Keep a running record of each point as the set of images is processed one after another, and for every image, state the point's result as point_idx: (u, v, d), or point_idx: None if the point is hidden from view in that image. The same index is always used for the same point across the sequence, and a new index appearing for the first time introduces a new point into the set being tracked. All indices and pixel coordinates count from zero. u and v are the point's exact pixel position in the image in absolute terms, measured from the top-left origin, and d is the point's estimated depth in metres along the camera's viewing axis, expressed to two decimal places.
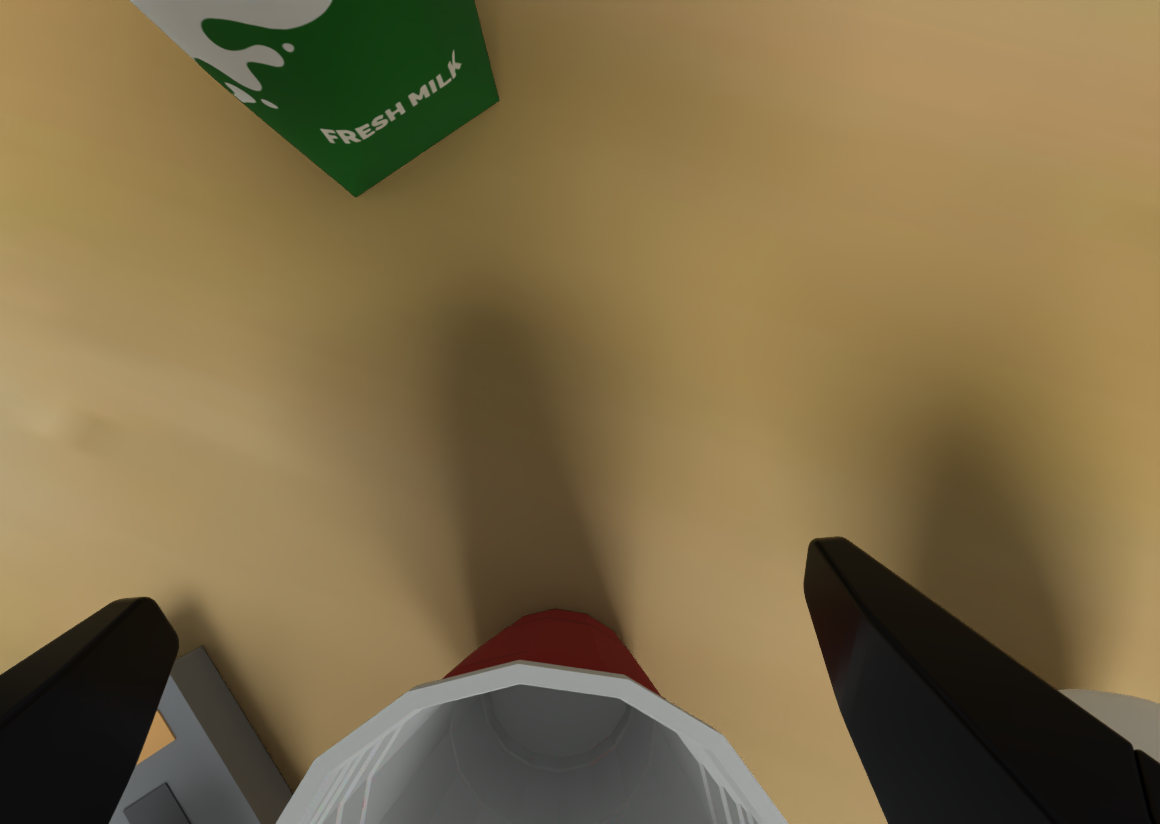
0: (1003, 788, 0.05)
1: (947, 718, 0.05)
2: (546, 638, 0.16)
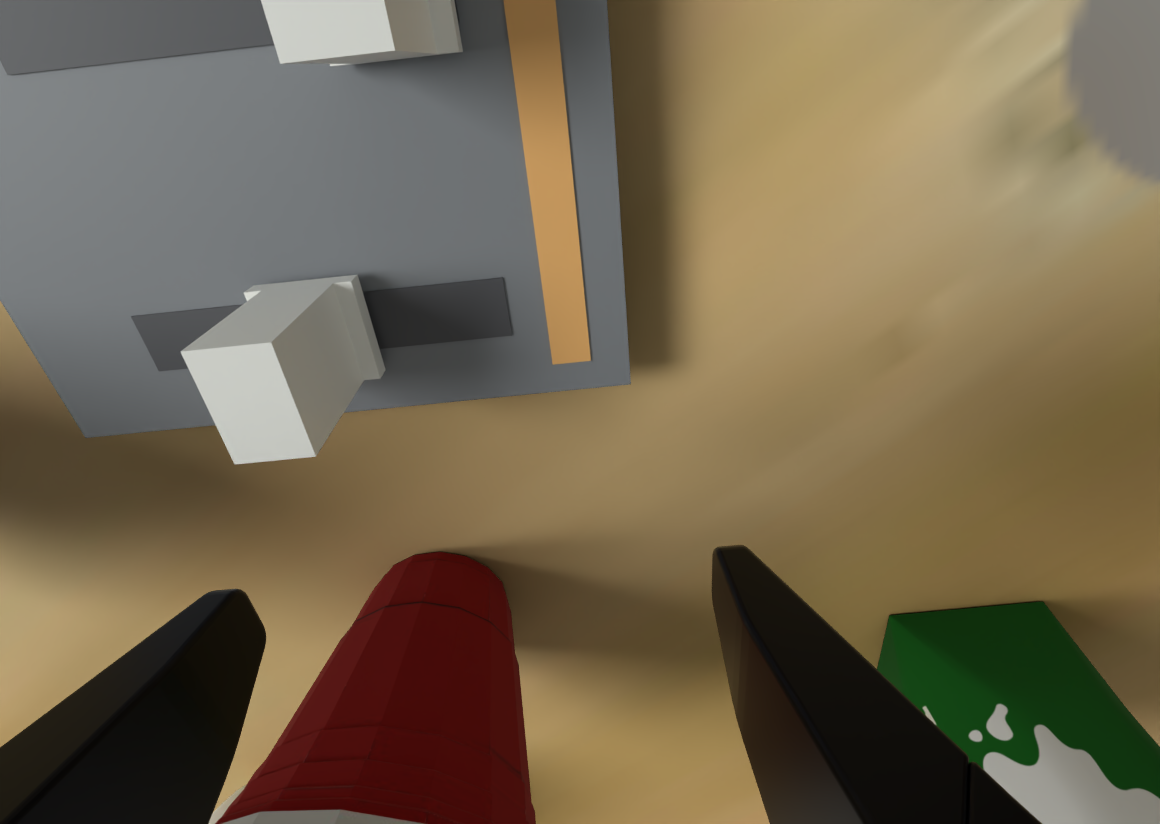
0: (839, 800, 0.05)
1: (802, 729, 0.05)
2: None
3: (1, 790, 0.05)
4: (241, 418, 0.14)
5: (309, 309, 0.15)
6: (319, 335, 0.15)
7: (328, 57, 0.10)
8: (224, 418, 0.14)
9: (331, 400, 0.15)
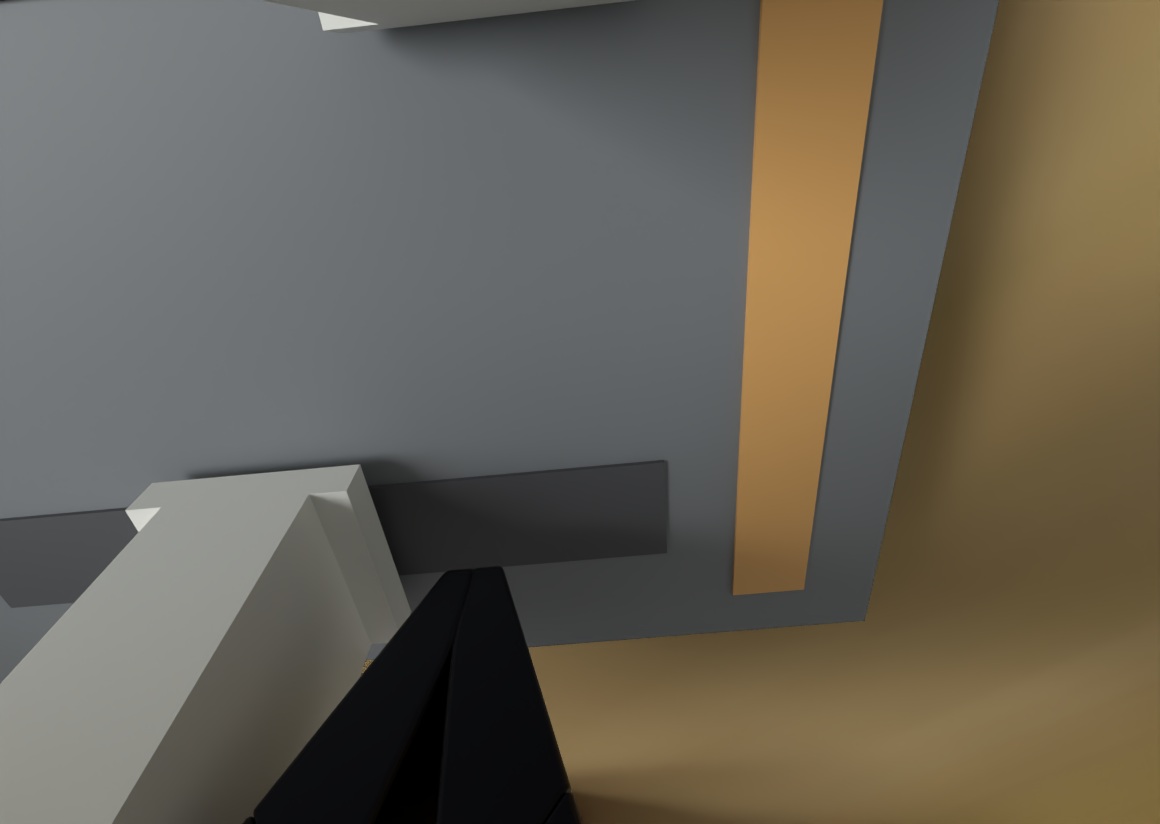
0: None
1: None
2: None
3: (357, 762, 0.05)
4: None
5: (247, 605, 0.06)
6: (273, 647, 0.07)
7: None
8: None
9: None
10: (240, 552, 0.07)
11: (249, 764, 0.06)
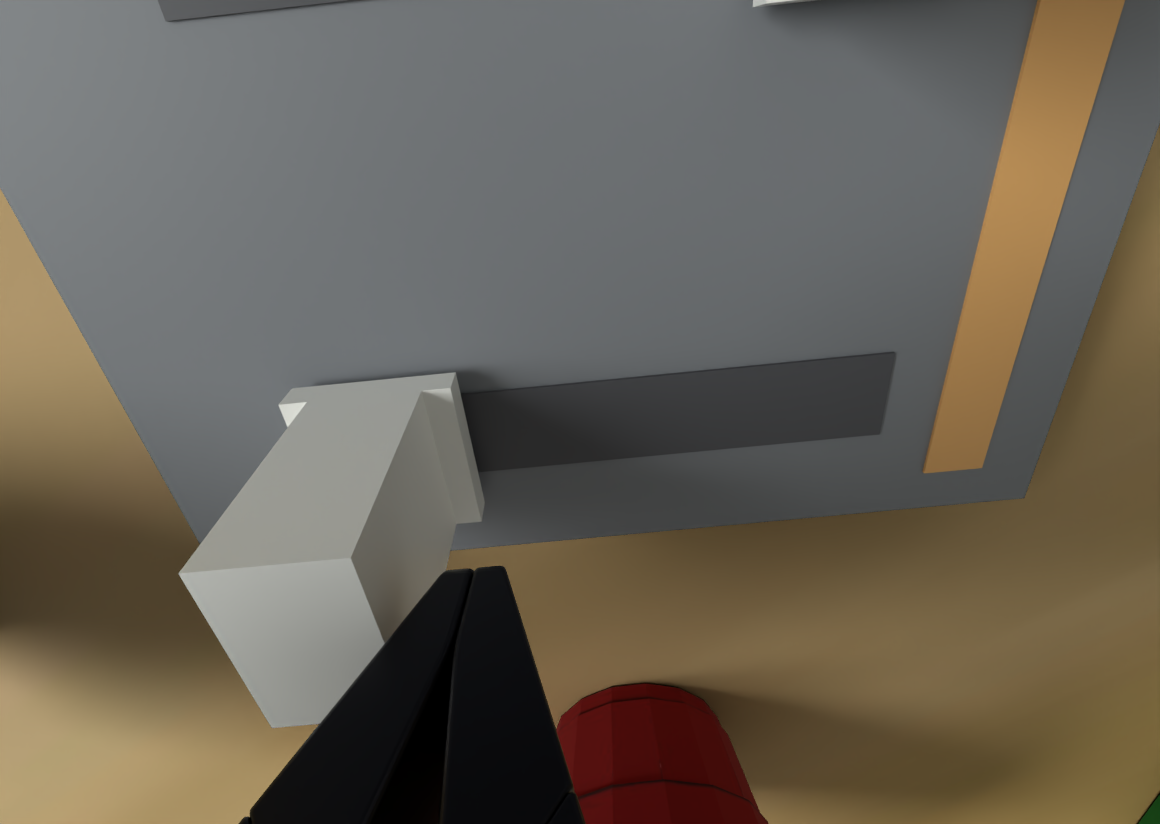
0: None
1: None
2: None
3: (354, 762, 0.05)
4: (286, 666, 0.08)
5: (397, 453, 0.09)
6: (410, 491, 0.09)
7: None
8: (256, 668, 0.08)
9: None
10: (381, 424, 0.09)
11: (403, 564, 0.08)
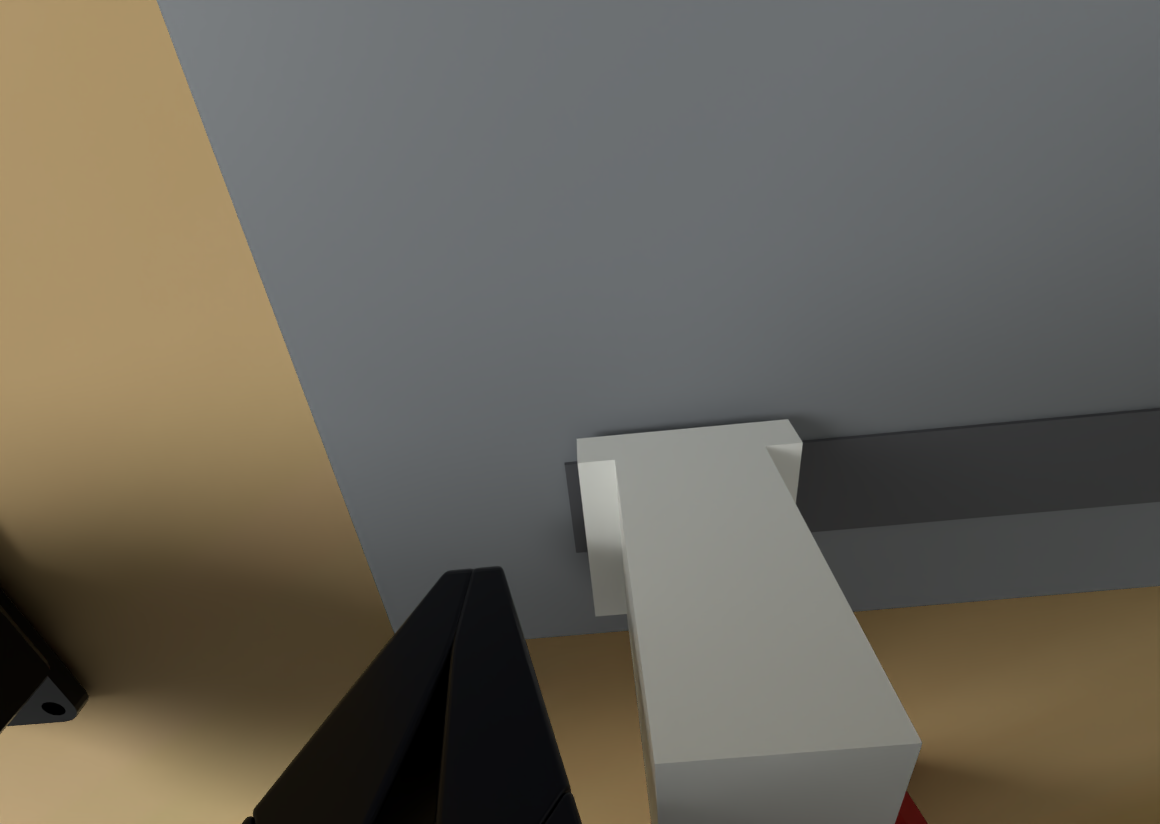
0: None
1: None
2: None
3: (357, 762, 0.05)
4: None
5: (812, 544, 0.06)
6: None
7: None
8: None
9: None
10: (754, 497, 0.07)
11: None
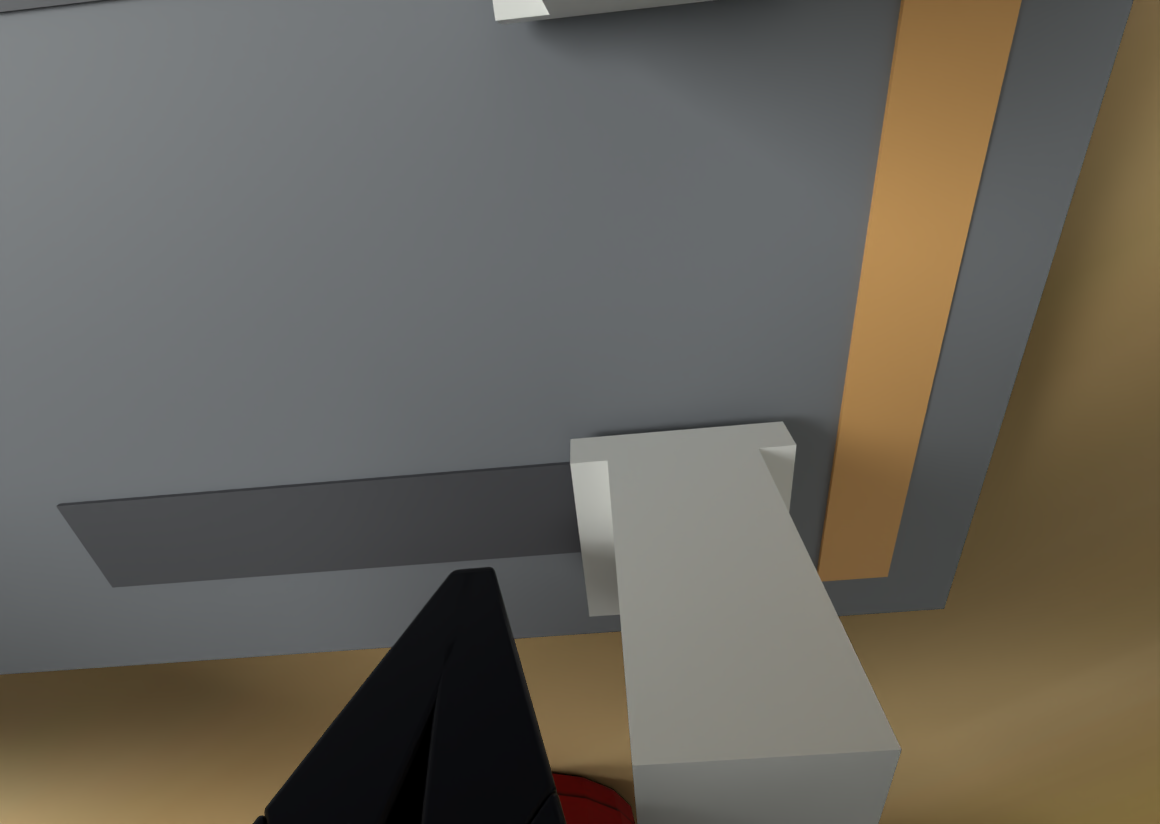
0: None
1: None
2: None
3: (368, 761, 0.05)
4: None
5: (801, 548, 0.06)
6: None
7: None
8: None
9: None
10: (745, 500, 0.07)
11: None
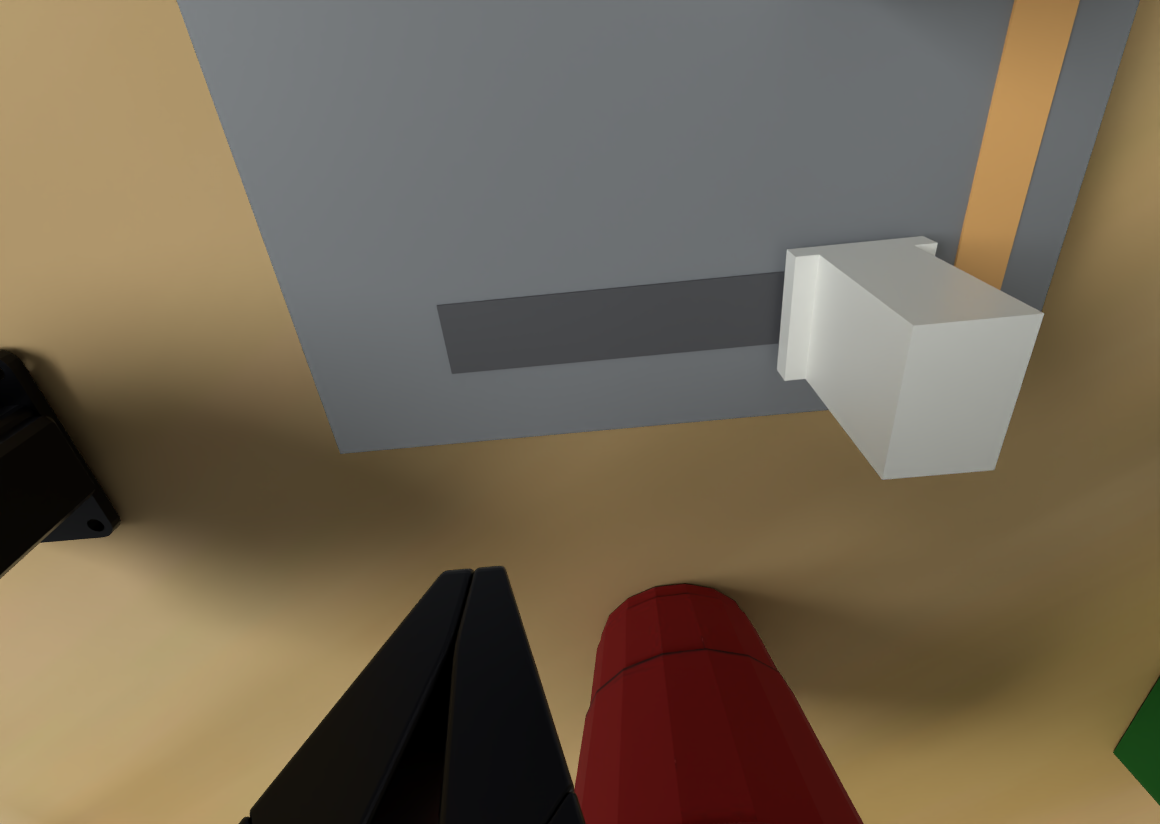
0: None
1: None
2: None
3: (354, 762, 0.05)
4: (932, 417, 0.10)
5: None
6: None
7: None
8: (910, 418, 0.10)
9: None
10: (918, 261, 0.12)
11: None
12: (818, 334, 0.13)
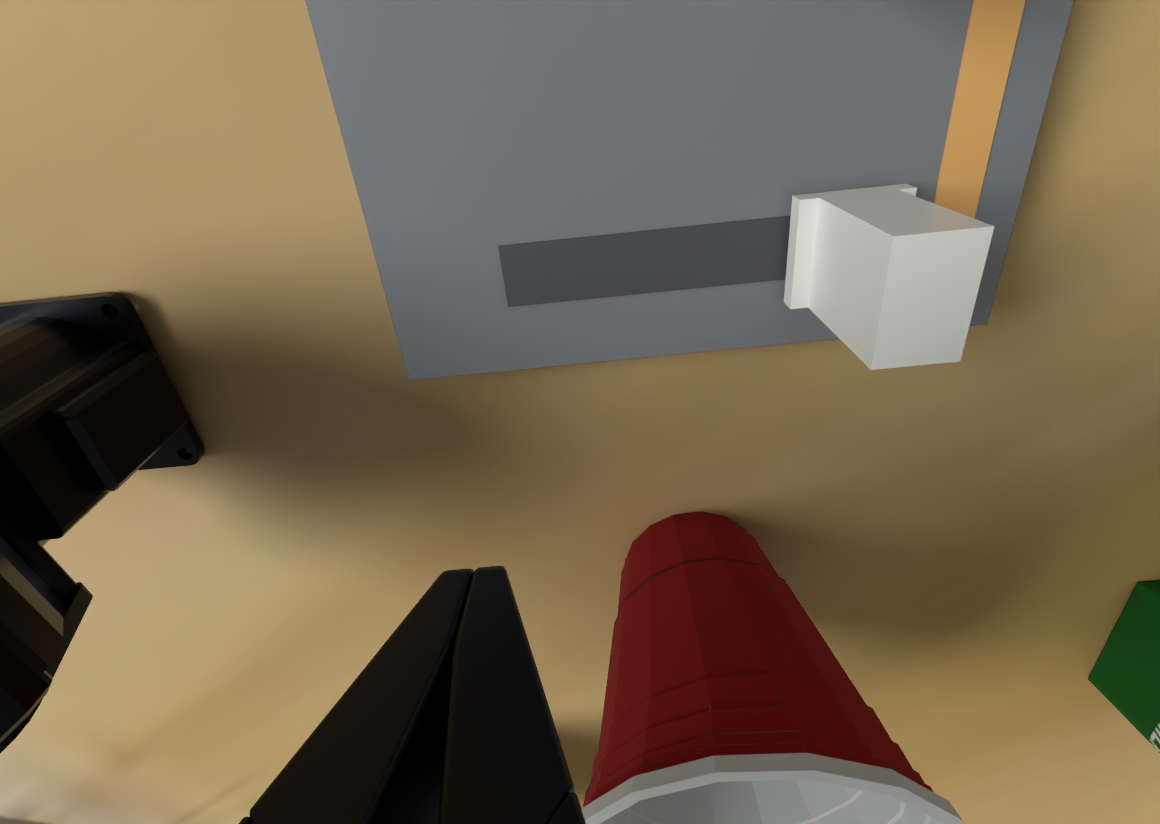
0: None
1: None
2: None
3: (354, 762, 0.05)
4: (910, 314, 0.13)
5: None
6: None
7: None
8: (892, 315, 0.13)
9: None
10: (900, 199, 0.14)
11: None
12: (818, 265, 0.16)
